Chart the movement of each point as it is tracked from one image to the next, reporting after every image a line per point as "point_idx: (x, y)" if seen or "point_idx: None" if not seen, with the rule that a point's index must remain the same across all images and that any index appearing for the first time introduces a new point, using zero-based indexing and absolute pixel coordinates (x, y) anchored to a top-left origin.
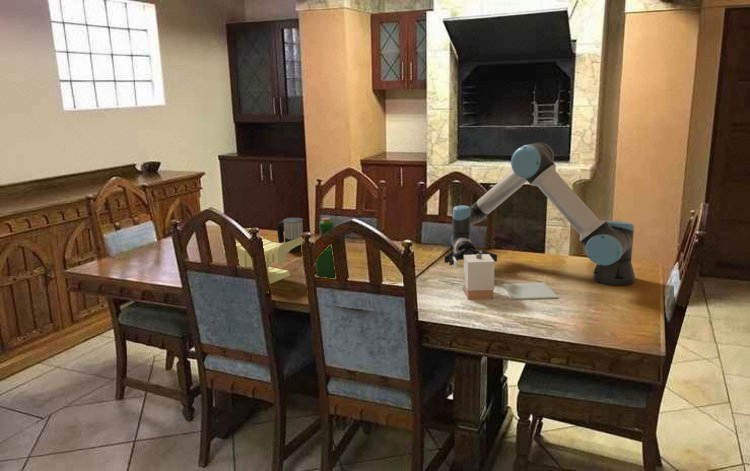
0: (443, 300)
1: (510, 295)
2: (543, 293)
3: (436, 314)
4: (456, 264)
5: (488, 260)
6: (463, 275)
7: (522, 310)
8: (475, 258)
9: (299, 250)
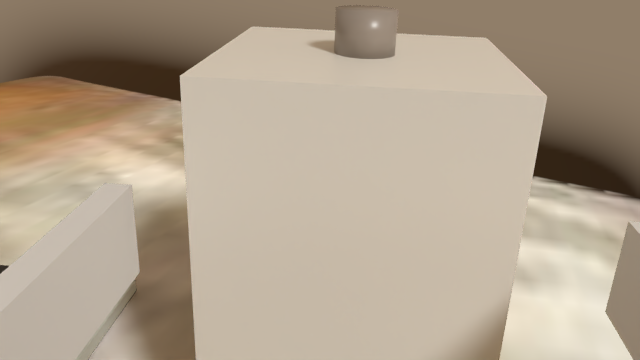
0: None
1: (104, 329)
2: None
3: (621, 233)
4: (628, 258)
5: (293, 34)
6: (499, 354)
7: (183, 208)
8: (403, 53)
9: None
